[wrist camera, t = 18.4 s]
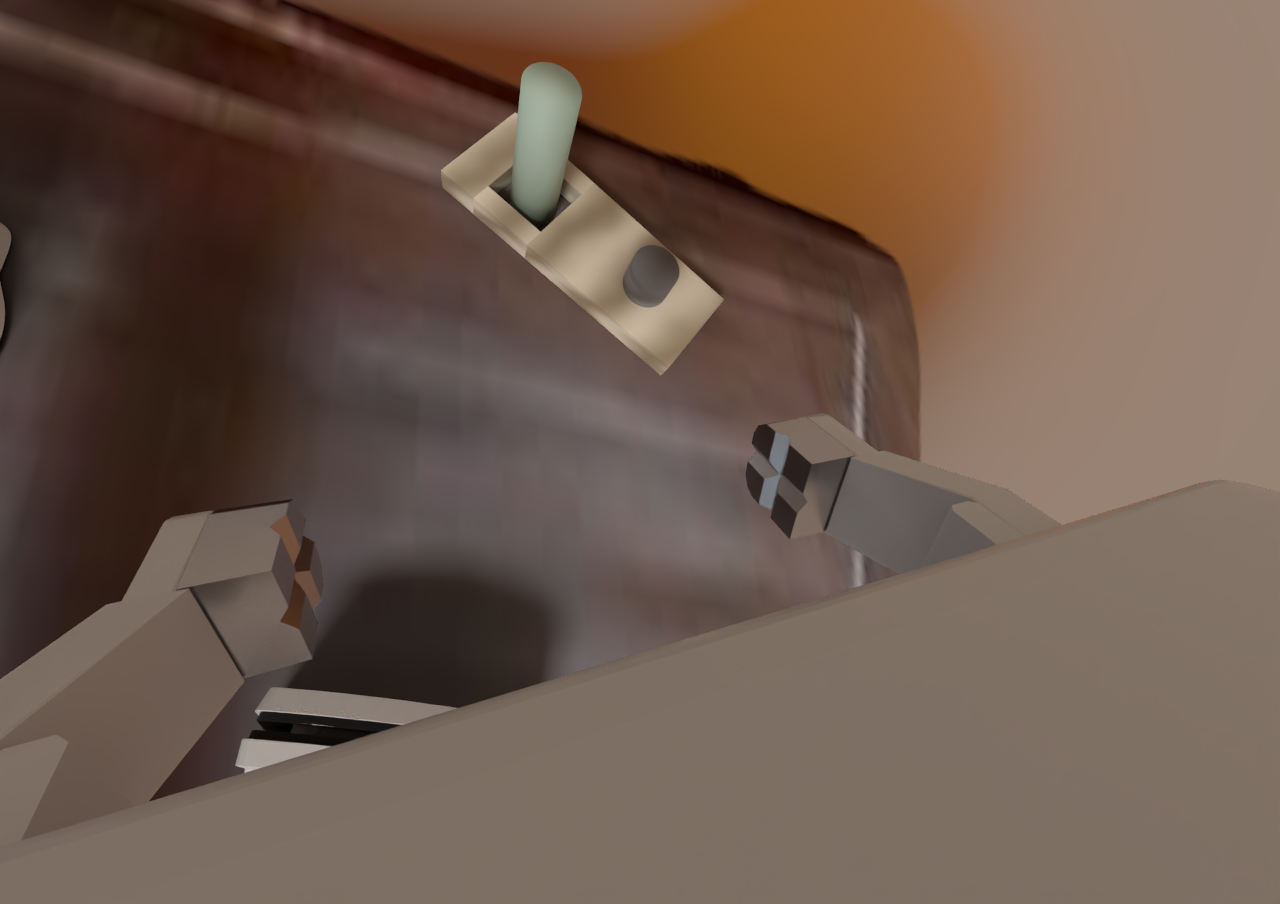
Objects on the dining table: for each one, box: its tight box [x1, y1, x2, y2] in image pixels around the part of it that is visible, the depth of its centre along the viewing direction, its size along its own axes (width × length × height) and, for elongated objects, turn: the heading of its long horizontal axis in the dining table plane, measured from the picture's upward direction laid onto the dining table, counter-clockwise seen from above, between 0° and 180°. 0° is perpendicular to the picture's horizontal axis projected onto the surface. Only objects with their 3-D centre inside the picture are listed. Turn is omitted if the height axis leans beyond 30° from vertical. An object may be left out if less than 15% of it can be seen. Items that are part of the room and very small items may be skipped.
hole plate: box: [441, 113, 724, 375], centre depth 44 cm, size 24×9×5 cm, turn 53°
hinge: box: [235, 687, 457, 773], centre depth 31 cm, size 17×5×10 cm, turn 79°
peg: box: [509, 62, 582, 227], centre depth 40 cm, size 4×4×12 cm
